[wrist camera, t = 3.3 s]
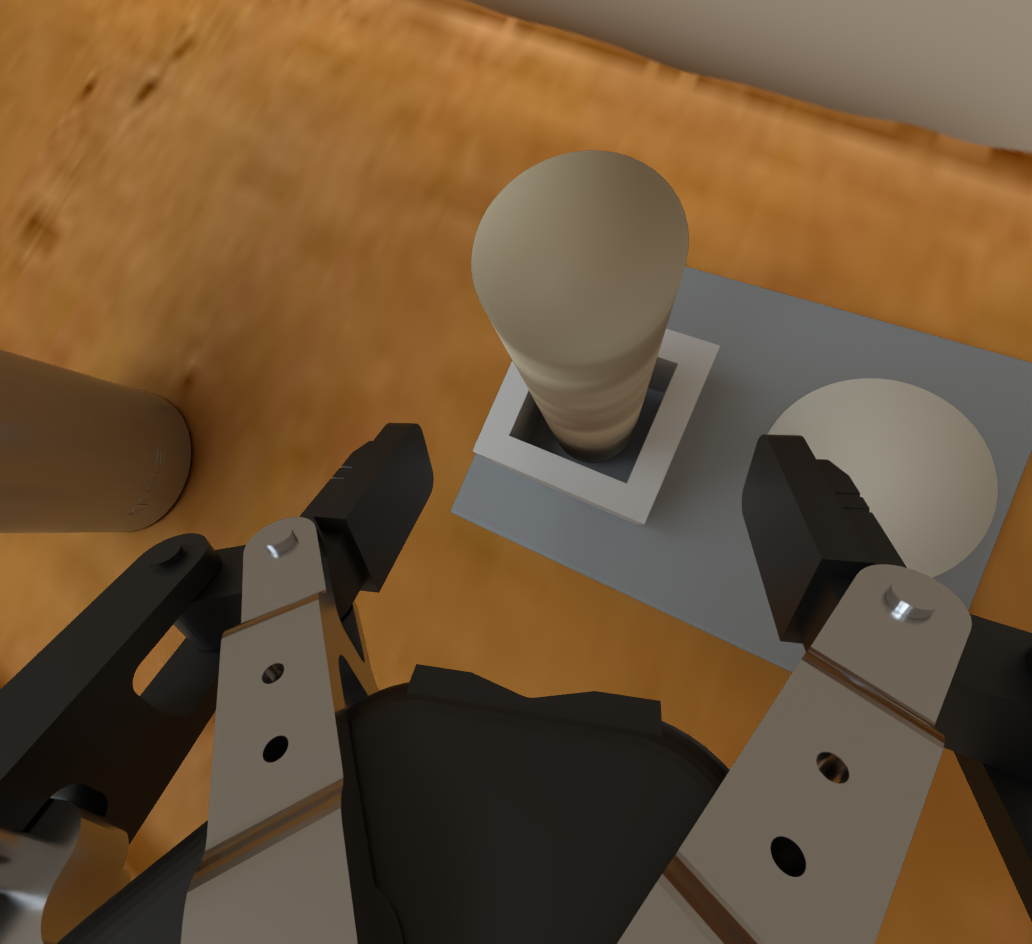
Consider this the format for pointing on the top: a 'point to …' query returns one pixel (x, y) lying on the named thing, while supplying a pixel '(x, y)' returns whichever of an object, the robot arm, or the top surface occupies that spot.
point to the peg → (583, 289)
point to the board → (730, 447)
